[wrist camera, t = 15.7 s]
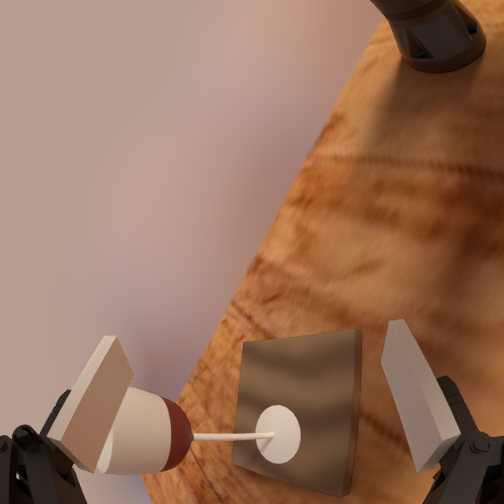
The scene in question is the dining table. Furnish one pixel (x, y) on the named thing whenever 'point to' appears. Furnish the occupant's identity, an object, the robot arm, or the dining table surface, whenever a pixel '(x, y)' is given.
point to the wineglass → (182, 435)
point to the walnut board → (304, 406)
